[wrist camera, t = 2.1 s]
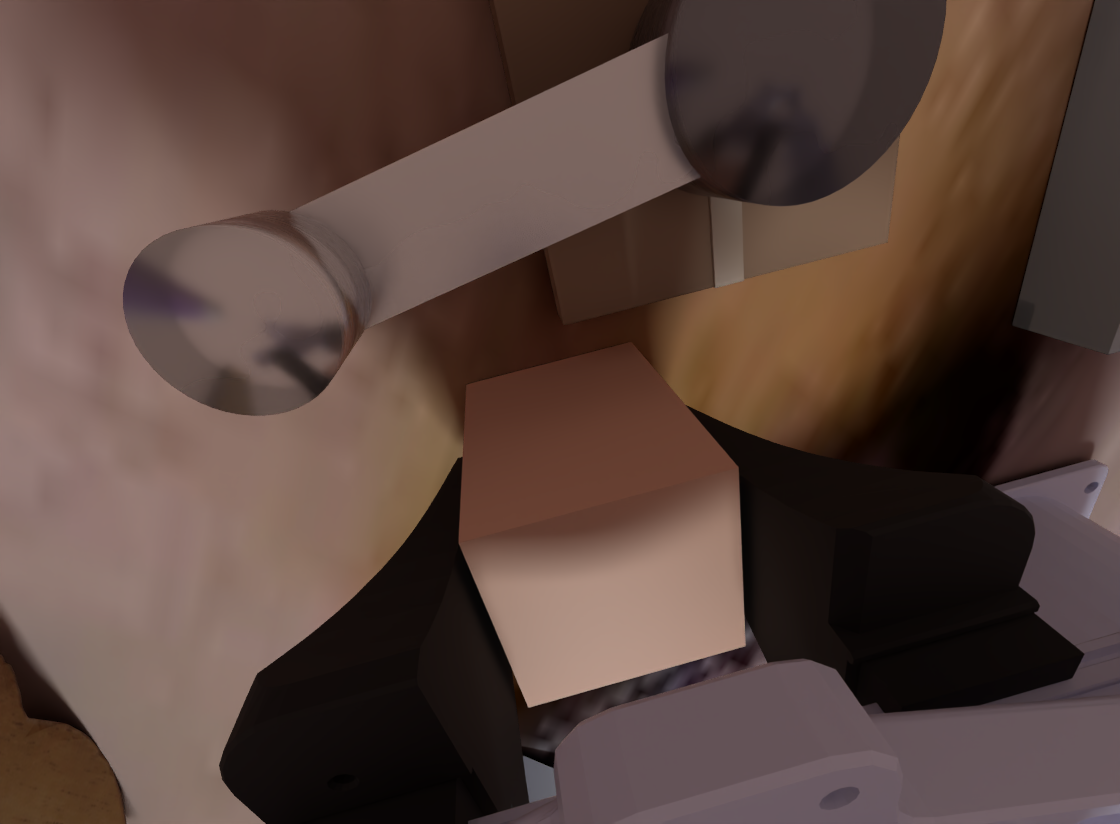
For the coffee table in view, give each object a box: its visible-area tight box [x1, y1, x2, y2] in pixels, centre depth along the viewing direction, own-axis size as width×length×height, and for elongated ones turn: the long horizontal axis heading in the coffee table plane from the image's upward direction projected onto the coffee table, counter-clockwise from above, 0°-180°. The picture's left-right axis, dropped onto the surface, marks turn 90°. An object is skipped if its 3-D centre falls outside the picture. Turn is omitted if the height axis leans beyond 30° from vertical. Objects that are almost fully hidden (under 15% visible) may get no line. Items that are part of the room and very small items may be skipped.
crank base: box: [489, 0, 900, 325], centre depth 10 cm, size 8×8×1 cm
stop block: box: [459, 342, 745, 707], centre depth 11 cm, size 4×4×6 cm
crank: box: [123, 0, 946, 416], centre depth 8 cm, size 12×4×4 cm, turn 112°
